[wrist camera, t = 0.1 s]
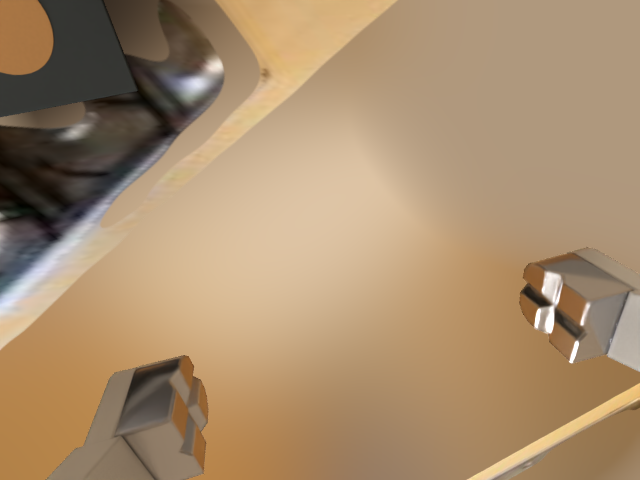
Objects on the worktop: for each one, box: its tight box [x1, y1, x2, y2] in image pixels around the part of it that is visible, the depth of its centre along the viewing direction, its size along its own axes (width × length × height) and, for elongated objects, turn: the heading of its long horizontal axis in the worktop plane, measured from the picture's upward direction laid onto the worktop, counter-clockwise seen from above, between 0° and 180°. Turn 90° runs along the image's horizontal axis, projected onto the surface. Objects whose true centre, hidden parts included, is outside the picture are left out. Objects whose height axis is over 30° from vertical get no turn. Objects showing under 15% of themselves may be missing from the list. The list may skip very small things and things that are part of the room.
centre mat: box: [0, 0, 138, 117], centre depth 35 cm, size 16×20×1 cm
